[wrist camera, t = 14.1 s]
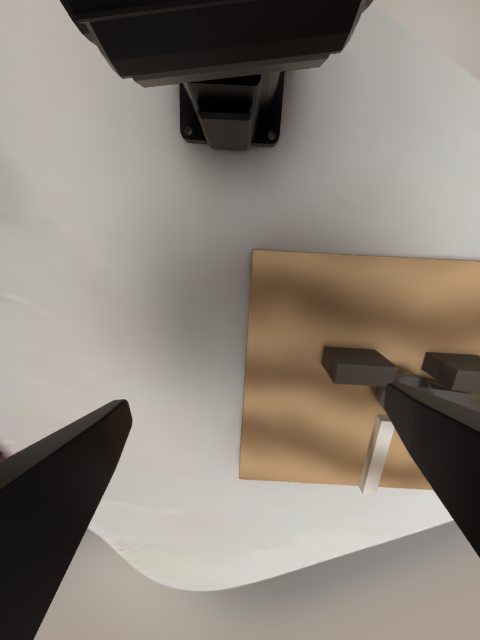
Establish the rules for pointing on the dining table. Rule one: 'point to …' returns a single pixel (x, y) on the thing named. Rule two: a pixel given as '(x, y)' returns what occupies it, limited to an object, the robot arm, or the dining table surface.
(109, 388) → the dining table surface
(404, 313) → the lock plate
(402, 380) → the two-tone long knobbed bar
